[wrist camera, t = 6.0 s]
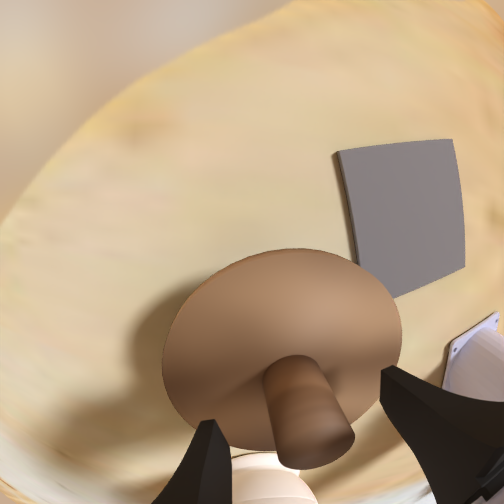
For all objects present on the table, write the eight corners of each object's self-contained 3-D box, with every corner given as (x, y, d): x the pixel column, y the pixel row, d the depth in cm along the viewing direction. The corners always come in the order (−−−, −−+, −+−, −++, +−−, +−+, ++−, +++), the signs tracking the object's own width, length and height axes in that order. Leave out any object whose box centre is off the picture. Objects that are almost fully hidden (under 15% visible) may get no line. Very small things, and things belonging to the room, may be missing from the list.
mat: (461, 265, 17) (465, 266, 17) (362, 306, 17) (365, 309, 17) (448, 139, 15) (452, 138, 15) (336, 151, 15) (339, 150, 14)
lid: (385, 406, 14) (423, 461, 9) (205, 451, 14) (204, 520, 9) (390, 225, 12) (476, 248, 6) (131, 279, 11) (73, 341, 6)
